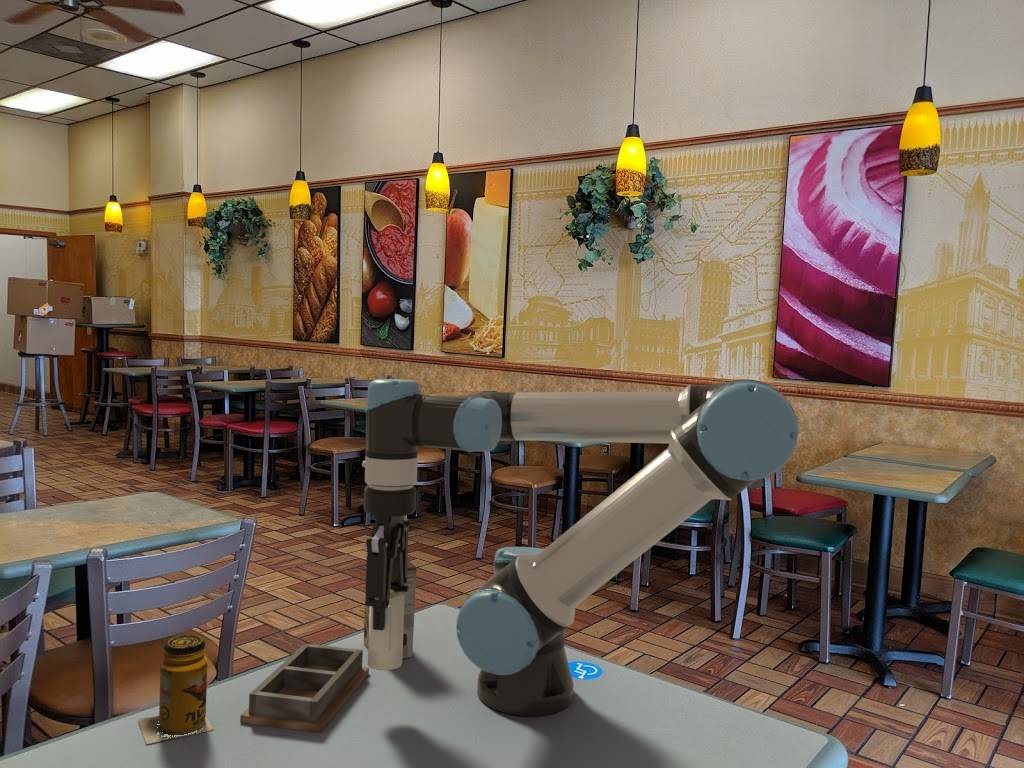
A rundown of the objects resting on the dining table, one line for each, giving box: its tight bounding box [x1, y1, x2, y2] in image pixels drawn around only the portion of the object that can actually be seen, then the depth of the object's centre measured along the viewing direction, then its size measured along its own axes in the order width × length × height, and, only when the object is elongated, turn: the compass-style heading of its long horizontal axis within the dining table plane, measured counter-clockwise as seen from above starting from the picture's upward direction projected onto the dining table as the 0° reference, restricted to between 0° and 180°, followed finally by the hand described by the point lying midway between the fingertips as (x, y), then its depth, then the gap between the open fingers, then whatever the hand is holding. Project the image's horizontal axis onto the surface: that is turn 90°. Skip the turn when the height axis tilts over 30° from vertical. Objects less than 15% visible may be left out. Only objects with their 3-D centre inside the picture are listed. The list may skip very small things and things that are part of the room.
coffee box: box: [363, 555, 418, 659], centre depth 138 cm, size 9×6×16 cm
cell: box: [367, 589, 405, 671], centre depth 115 cm, size 5×5×11 cm
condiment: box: [137, 634, 214, 745], centre depth 108 cm, size 7×8×12 cm
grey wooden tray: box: [239, 643, 370, 734], centre depth 119 cm, size 12×20×4 cm, turn 171°
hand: (386, 642), depth 115 cm, fingers closed on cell, 5 cm apart
